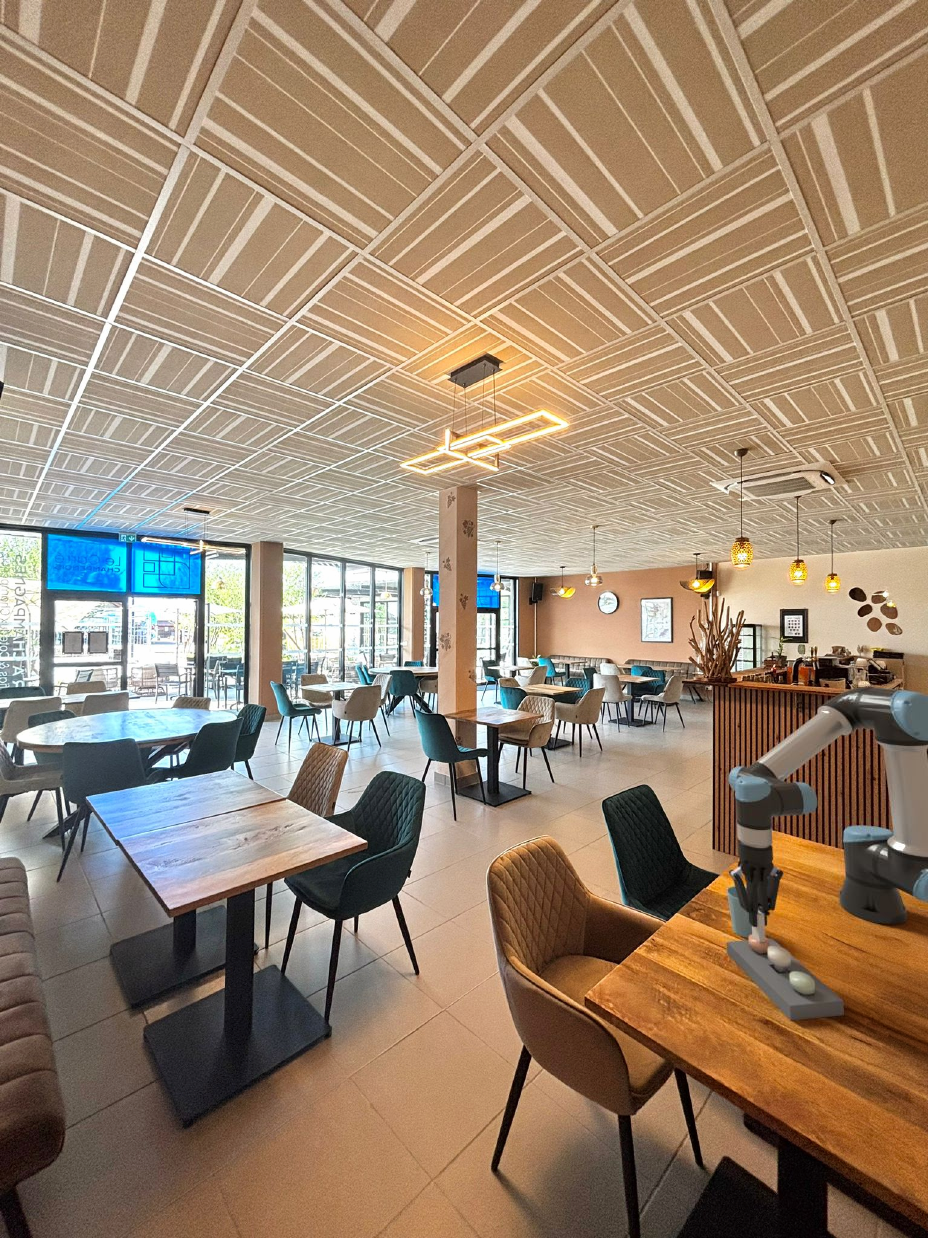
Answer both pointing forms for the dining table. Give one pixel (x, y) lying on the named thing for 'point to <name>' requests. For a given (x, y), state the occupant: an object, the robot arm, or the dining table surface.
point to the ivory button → (779, 957)
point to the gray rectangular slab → (785, 984)
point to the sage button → (802, 983)
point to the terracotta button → (759, 945)
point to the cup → (738, 914)
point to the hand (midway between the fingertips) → (758, 938)
